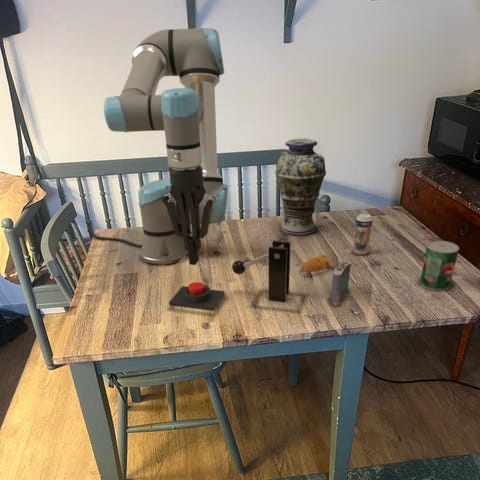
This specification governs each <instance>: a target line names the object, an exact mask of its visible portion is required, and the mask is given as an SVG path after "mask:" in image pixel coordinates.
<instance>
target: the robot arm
mask: <svg viewBox="0 0 480 480" xmlns="http://www.w3.org/2000/svg"><path fill="white" fill-rule="evenodd" d="M222 53H223V52H222V47H221V41H220V34H219V32H218V31H217V29H215V28H211V27H200V28H175V29H174V28H173V29H170V28H168V29H167V28H166V29H161V30H158V31H155V32H153V33H151V34H150V35H148V36H146V37H145V38H144V39H142V41H140V43H139V44H138V45H137V46H136V47H135V49H134V52H133V54H132V57H131V58H132V59H131V65H132V67H131V69H130V70H129V74H128V76H127V78H126V81H125V83H124V85H123V88H122V91H121V93H120V95H114V96H107V97H106V98H105V100H104V101H103V114H104V119H105V124H106V125H107V128H108V129H109V130H110V131H111V132H115V133H116V132H118V133H133V132H160V131H162V132H163V131H164V137H165V148H166V158H167V165H168V167H169V168H168V176H169V178H163V179H159V180H158V179H157V180H153V181H150V182H148V183H145V184H143V185H142V186H140V188H139V189H138V195H137V196H138V206H139V211H140V218H141V224H142V230H143V238H142V243H141V244H138V243H134V242H131V241H129V240H126V239H123V238H118V237H104V236H98V235H96V234H95V233H94V232H93V230H92V229H91V228H88V229H87V231H86V233H90V234H91V236H92V237H94V238H95V239H98V240H108V241H117V242H123V243H126V244H128V245H130V246H132V247H133V246H134V247H137V248H141V249H140V257H141V260H142V261H143V262H145V263H147V264H150V265H153V266H155V265H156V266H165V265H172V264H176V263H179V262H180V261H181V260H182V259H183V258H184V257H185V256H188V263H189V265H191V266H196V265H197V264H198V263H199V261H200V255H199V254H200V253H199V252H200V251H201V250H202V239H204V238H205V237H206V236H207V235H208V232H209V227H210V225H211V224H212V225H214V224H220V223H223V221H224V220H225V218H226V212H227V204H228V190H229V186H228V184H227V183H225V182H224V181H223V180H224V179H223V176H222V175H221V174H220V173H219V172H218V147H217V120H216V119H217V117H216V89H215V88H216V87H217V86H218V84H219V83H220V81H221V80H220V78H221V77H220V76H223V75H224V74H225V68H224V61H223V54H222ZM164 77H179V83H180V84H181V85H182V86H183V87H184V88H183V87H179V88H169V89H165V90H163V91H162V92H161V94H156V92H157V89H158V86H159V83H160V80H162V79H163V78H164Z"/></svg>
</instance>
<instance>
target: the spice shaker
mask: <svg viewBox="0 0 480 480" xmlns="http://www.w3.org/2000/svg"><path fill="white" fill-rule="evenodd" d="M372 226H373V218H372V215H371V214H368V213H359V214H358V215H357V216H356V217H355V226H354V227H355V228H354V236H353V237H354V238H353V246H352V252H353V253H354V254H356V255H358V256H359V255H360V256H363V255H364V256H365V255H366V254H368V253H369V250H370V242H371V235H372V234H371V233H372Z"/></svg>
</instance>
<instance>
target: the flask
mask: <svg viewBox="0 0 480 480" xmlns="http://www.w3.org/2000/svg"><path fill="white" fill-rule="evenodd" d="M336 263H338V264H337V265H336V266H335V268H334V270H333V272H332V282H331V293H330V300H331V302H334V303H338V302H340V300H341V298H342V296H343V294H344V293H346V291H348V289H349V281H350V273H351V266H352V263H351V261H349V260H342V259H338V260H337V262H336Z"/></svg>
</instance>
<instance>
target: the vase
mask: <svg viewBox="0 0 480 480" xmlns="http://www.w3.org/2000/svg"><path fill="white" fill-rule="evenodd" d="M317 145H318V141H316V140H315V139H313V138H292V139H288V140H286V141H285V146H286V147H288V151H283V152H281V153H280V154H279V155H278V160H277V162H276V163H277V164H276V166H275V171H274V174H275V176H276V179H277V183H278V187H279V196H280V198H281V200H282V206H283V207H282V208H283V215H284V216H283V221H282V225H281V228H280V231H281V232H282V233H283V234H285V235H287V236H296V237H302V236H309V235H312V234H315V232H316V226H315V224H314V218H313V217H314V216H313V215H314V211H315V204H316V202H317V199H318V198H319V197H320V191H321V187H322V185H323V181H324V180H325V177H326V175H327V170H326V161H325V157H324V156H323V155H322V154H319V153H317V152H315V151H314V147H316V146H317Z"/></svg>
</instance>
